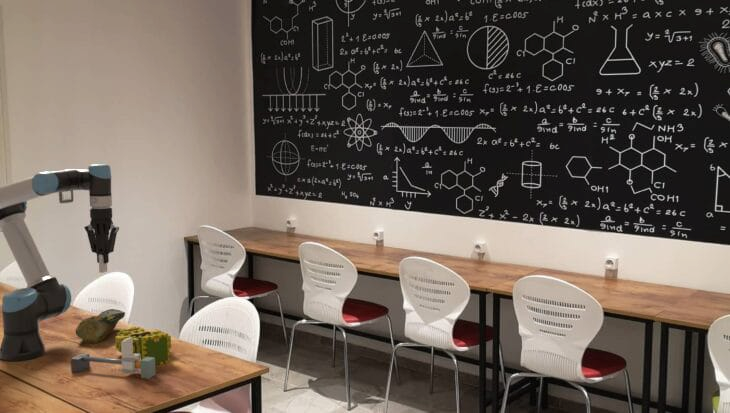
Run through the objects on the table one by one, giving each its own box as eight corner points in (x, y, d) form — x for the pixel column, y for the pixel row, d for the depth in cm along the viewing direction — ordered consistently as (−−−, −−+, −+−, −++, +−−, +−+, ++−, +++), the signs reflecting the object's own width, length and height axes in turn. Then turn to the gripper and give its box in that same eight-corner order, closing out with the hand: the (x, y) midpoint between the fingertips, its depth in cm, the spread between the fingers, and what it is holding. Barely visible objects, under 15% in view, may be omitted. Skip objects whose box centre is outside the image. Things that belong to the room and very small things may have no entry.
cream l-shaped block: (122, 372, 248) (121, 341, 247) (130, 367, 253) (129, 337, 252) (132, 373, 247) (131, 342, 246) (141, 368, 252) (140, 338, 251)
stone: (114, 344, 284) (131, 318, 308) (104, 317, 281) (122, 292, 305) (78, 354, 284) (97, 326, 308) (67, 327, 281) (88, 301, 305)
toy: (148, 319, 289) (179, 332, 265) (150, 345, 289) (180, 360, 265) (105, 326, 279) (132, 340, 255) (106, 353, 279) (134, 369, 255)
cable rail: (71, 371, 252) (70, 354, 252) (82, 366, 258) (81, 349, 257) (147, 379, 245) (147, 362, 245) (157, 373, 251) (156, 356, 250)
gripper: (78, 207, 264) (81, 272, 267) (110, 209, 261) (113, 275, 264) (91, 205, 272) (93, 268, 274) (123, 206, 268) (125, 270, 271)
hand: (103, 271), depth 269 cm, fingers closed
